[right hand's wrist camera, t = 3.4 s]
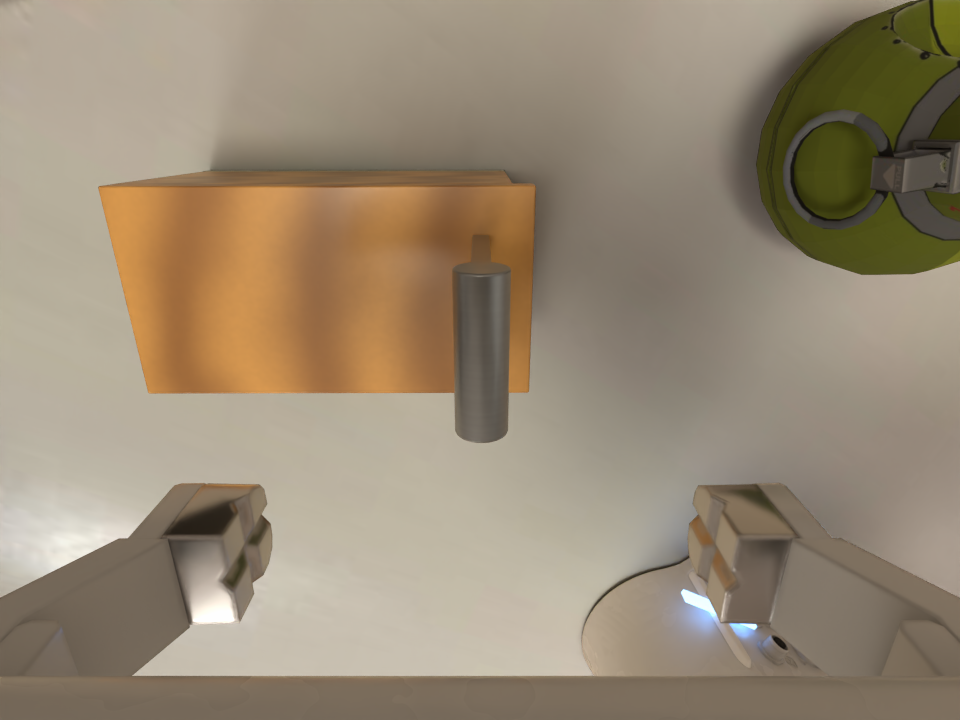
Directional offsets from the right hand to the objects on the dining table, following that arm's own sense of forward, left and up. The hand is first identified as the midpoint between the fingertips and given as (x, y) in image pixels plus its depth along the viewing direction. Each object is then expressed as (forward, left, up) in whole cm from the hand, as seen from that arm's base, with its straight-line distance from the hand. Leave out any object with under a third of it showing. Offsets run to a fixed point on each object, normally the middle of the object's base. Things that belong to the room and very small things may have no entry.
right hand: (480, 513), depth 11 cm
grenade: (-17, -11, -26) cm, 33 cm away
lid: (+6, +2, -16) cm, 18 cm away
